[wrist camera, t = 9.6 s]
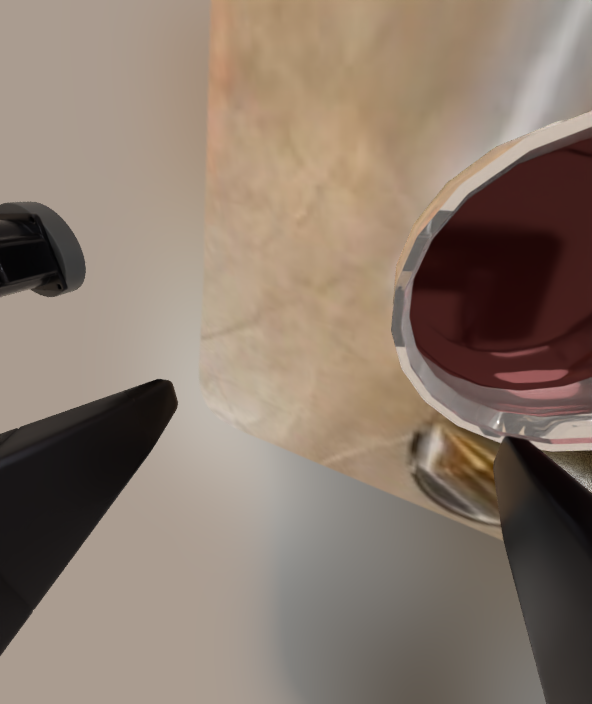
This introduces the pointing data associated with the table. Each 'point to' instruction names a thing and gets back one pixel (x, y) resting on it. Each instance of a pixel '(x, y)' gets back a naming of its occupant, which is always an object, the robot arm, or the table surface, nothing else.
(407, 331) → the wineglass
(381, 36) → the table surface
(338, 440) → the table surface
